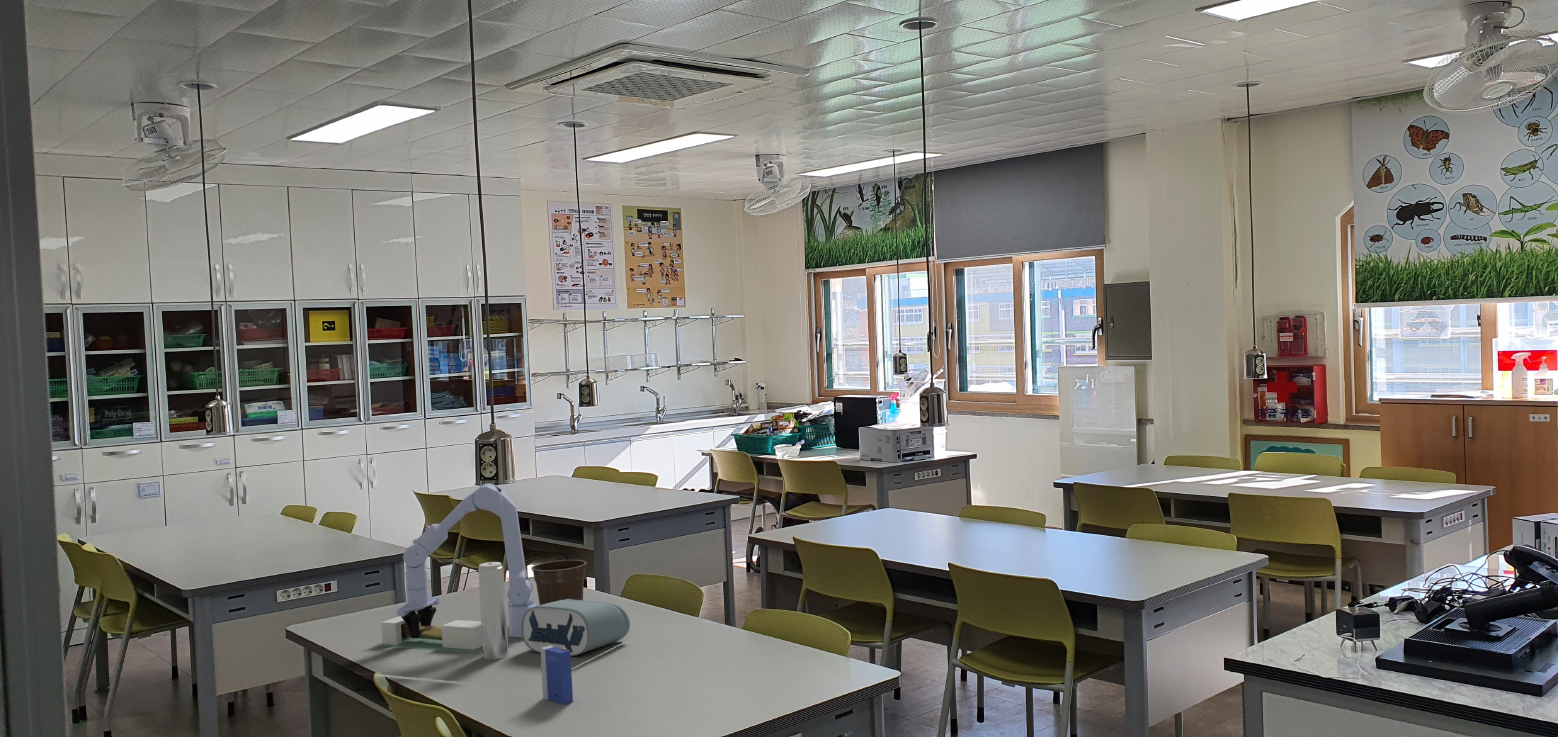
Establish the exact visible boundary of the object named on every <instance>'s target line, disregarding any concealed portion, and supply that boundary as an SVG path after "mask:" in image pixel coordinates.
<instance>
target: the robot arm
mask: <svg viewBox="0 0 1558 737" xmlns="http://www.w3.org/2000/svg"><path fill="white" fill-rule="evenodd" d="M478 509H480V510H482V511H483V510H484V511H489V512H492V513H493V514H494V515H497V516H498V517H499V518H500V521H501V529H502V534H503V535H502V536H503V541H504V542H503V544H504V549H505V556H506V564H507V570H508V583H509V587H508V590H507V599H508V602H507V610H508V625H509V626H508V627H509V629H508V630H509V632H507V637H514V638H515V637H517V638H523V636H522V619H523V616H524V614H525V612H526V611H527V610H528V609H530V608H533V607H536V606H540V604H537V603H535V599H534V598H532V596H531V594H532V593H533V588H534V585H533V583H532V581H531V580H530V578H529V576H528V570H527V569H526V564H525V563H526V561H525V555H524V549H523V543H522V542H523V541H522V536H521V529H520V521H519V515H518V508H517V505H516V504H515V503H514V502H513V500H512V499H510V497H509V496H508V495H507V494H506V493H505V491H504V490H503V489H502V488H501V487H499V486H497V485H495V483H490V482H489V483H483V484H482V485H480V486H479V487H478V489H475V490H474V491H473V492H470V494H469V495H467V496H466V497H464V499H462V500H461V501H460V502H459V503H458V505H456V507H454V508H453V509H452V510H451V511H450V513H448V515H447V516H445V517H444V519H443V520H442V521H441V522H440V523H432V524H431V525H429V524H428V525H427V526H426V527H425V528H424V530H425V531H424V532H422V534H420V535H419V537H418V538H417V539H416V538H415V539H413V540H412V543H413V544H411V545H410V546H407V548H406V550H404V552H403V555H402V560H403V562H404V564H405V585H406V599H407V602H405V605H403V606H401V607H399V608H397V609H396V614H397V616H396V617H398V616H401V617H402V619H403V620H404V621H405V623H406V625H407V627H408V629H409V632H410V635H411V638H416V639H417V638H419V625H425V626H432V622H433V619H434V616H435V614H436V612H437V607H436V606H438V605H440V597H437V596H436V597H435V596H433V597H429V581H428V579H429V576H428V569H427V561H426V560H427V558H428V556H429V555H432V554H433V553H434V552H435V551H436V550H437V549H438V548H439V547H441V545H442V544H444V542H446V540H447V539H448V537H449V536H448V535H449V534H448V531H449V530H451V529H452V528H453V527H454V526H455V525H456V524H457V523H458V522H460V520H461V519H462V518H463V517H464V516H466V514H468V513H471V512H474V511H478Z"/></svg>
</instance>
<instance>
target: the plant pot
mask: <svg viewBox="0 0 1558 737" xmlns="http://www.w3.org/2000/svg"><path fill="white" fill-rule="evenodd" d="M586 566H587V561H585V560H581V559H560V560H553V561H547V562H542V563H538V564H534V565H532V566H531V571H532V573H533V579H534V582H535V583H536V590H537V591H536V592H537V596H538V603H539V604H538V605H543V604H547V603H551V602H555V601H560V600H565V599H572V600H582V601H584V584H585V583H584V582H585V580H584V579H585V576H586V575H585V574H586Z"/></svg>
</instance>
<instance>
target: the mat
mask: <svg viewBox="0 0 1558 737" xmlns="http://www.w3.org/2000/svg"><path fill="white" fill-rule="evenodd" d="M376 646H378V647H389V648H390V647H391V648H403V649H416V650H429V651H441V652H452V653H466V654H469V653H471V652H473V651H476V650H478V649H481V648H483V646H482V647H480V648H477V649H475V650H473V649H460V648H447V647H443V642H442V640H433V639H420V638H417V639H416V638H414V639H412V640H409V641H406V642H404V643H401V644H398V645H388V644H383V642H381V643H379V644H377V645H376Z"/></svg>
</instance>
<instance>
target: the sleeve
mask: <svg viewBox="0 0 1558 737" xmlns="http://www.w3.org/2000/svg"><path fill="white" fill-rule="evenodd" d="M441 627H442V642H443V647H447V648H460V649H473V650H474V651H476V650H478V649H481V648H483V647H482V646H483V640H482V623H481V620H480V621H479V620H477V621H476V620H461V619H455V620H453V621H450V622H448V623H444V624H443V625H441ZM480 647H481V648H480ZM477 648H478V649H477ZM475 649H476V650H475Z"/></svg>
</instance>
